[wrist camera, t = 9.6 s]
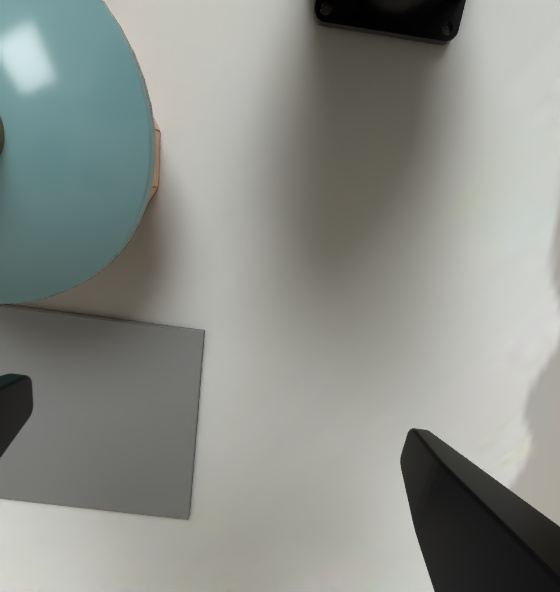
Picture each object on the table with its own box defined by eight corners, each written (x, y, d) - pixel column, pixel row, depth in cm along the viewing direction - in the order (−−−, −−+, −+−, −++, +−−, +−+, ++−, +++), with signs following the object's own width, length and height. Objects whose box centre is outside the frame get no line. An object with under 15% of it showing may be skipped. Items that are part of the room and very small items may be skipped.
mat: (204, 330, 21) (203, 333, 20) (189, 514, 25) (188, 519, 24) (-76, 293, 20) (-83, 295, 20) (-45, 488, 24) (-50, 493, 24)
